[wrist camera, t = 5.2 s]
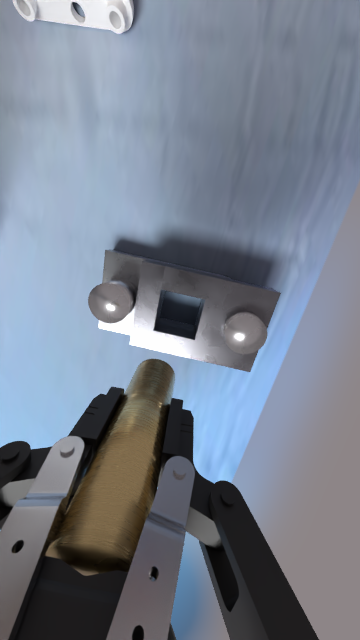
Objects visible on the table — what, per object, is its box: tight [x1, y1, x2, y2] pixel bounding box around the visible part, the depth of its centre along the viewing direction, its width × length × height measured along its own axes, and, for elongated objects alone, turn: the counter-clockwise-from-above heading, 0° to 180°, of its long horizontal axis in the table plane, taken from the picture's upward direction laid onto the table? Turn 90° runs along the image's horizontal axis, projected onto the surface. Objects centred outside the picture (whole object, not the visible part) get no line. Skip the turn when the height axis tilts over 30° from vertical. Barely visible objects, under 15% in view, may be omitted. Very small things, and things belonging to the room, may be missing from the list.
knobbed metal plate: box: [88, 250, 281, 372], centre depth 25 cm, size 20×10×6 cm, turn 78°
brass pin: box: [45, 359, 175, 576], centre depth 11 cm, size 3×3×10 cm
